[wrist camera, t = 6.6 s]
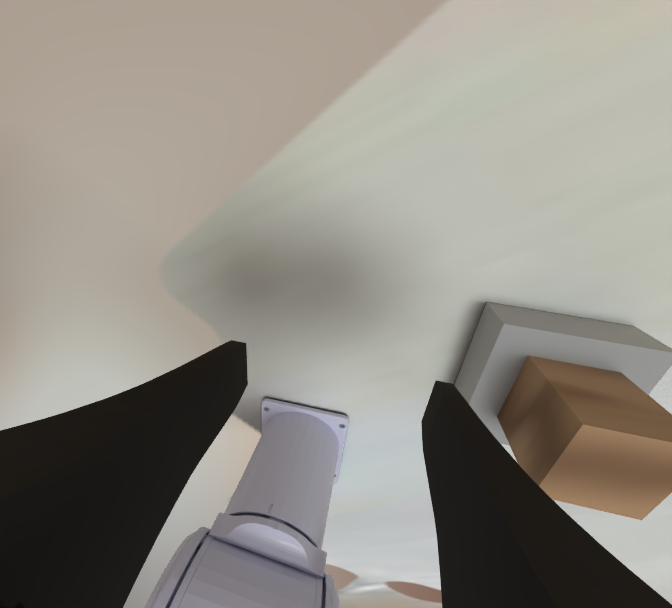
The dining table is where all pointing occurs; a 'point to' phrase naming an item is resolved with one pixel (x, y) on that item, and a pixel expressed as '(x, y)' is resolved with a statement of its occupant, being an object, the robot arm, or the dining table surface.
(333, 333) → the dining table surface
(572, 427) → the block
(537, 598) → the robot arm
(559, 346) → the base
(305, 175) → the dining table surface
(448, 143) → the dining table surface
